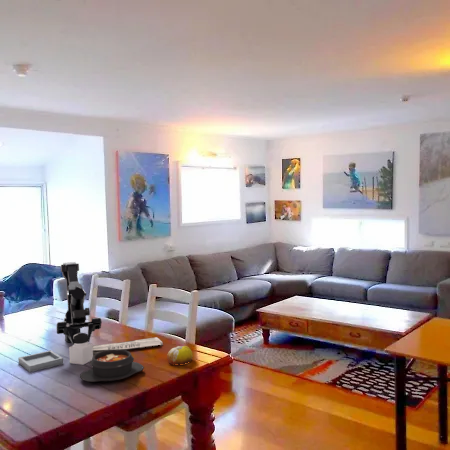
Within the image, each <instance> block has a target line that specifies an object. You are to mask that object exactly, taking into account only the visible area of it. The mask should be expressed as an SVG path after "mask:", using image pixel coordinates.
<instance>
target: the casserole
mask: <svg viewBox="0 0 450 450" xmlns="http://www.w3.org/2000/svg"><path fill="white" fill-rule="evenodd" d="M89 364H90V366H91V368H90V369H88V370H85V371H83V372H81V373H80V375H79V378H80V379H81V380H82V381H85V382H88V383H95V382H114V381H119V380H123V379H126V378H129V377H131V376H132V375H134V374H137V373H140V372H141V371H143V370H144V365H143V364H141V363H139V362H137V361H135V357H134V356H133V355H132V352H130V350H108V351H103V352H99V353H97V354H95V355H93V358H92V360H91V361H89Z"/></svg>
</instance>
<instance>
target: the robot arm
mask: <svg viewBox="0 0 450 450" xmlns="http://www.w3.org/2000/svg"><path fill="white" fill-rule="evenodd" d="M79 264H80V263H77V262H76V261H71V262H63V263H62V264H61V265H60V273H61V274H62V277H63V278H64V280H65V281H66V282H65V284H66V299H67V310H66V312H65V316H64V317H63V321H58V322H57V323H56V334H57V335H60V334H61V335H62V334H63V335H64V341H66V342H68V343H70V344H72V345H74V339H73V336H74V335H76V334H78V333H81V329H83V328H87V335H88V343H90V340H91V336H92V334H93V332H95V330H100V329H101V328H102V322H103V321H102V319H101V317H92V318H91V321H87V317H88V316H90V315H91V311H90V307H84V303H85V298H86V297H87V292H86V290H84V288H83V286H82V284H81V283H79V278H78V271H79V272H80V265H79Z"/></svg>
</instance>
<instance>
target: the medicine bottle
mask: <svg viewBox="0 0 450 450" xmlns="http://www.w3.org/2000/svg"><path fill="white" fill-rule="evenodd" d="M73 339H74V344H72V345H71V346H69V347H68V350H69V351H68V353H69V363H70V364H74V365H75V364H76V365H85V364H87V363H90V362H91V360H92V358H93V356H94V355H93V346H94V344H93V343H90V342H88V333H86V332H80V333H78V334H76V335H74V336H73Z"/></svg>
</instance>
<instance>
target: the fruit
mask: <svg viewBox="0 0 450 450" xmlns="http://www.w3.org/2000/svg"><path fill="white" fill-rule="evenodd" d="M193 357H194V356H193V351H192V350H191V348H190V347H189V346H186V345H183V346H180V345H177V346H176V347H172V348H171V349H170V350H169V351H168V353H167V354H166V359H167V362H168V363H169V364H170V365H172V364H178V365H177V366H181V365H180V364H185V363H188V362H190V361H191V362H192V361H193ZM191 362H190V363H191ZM188 364H189V363H188ZM185 365H186V364H185Z"/></svg>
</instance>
